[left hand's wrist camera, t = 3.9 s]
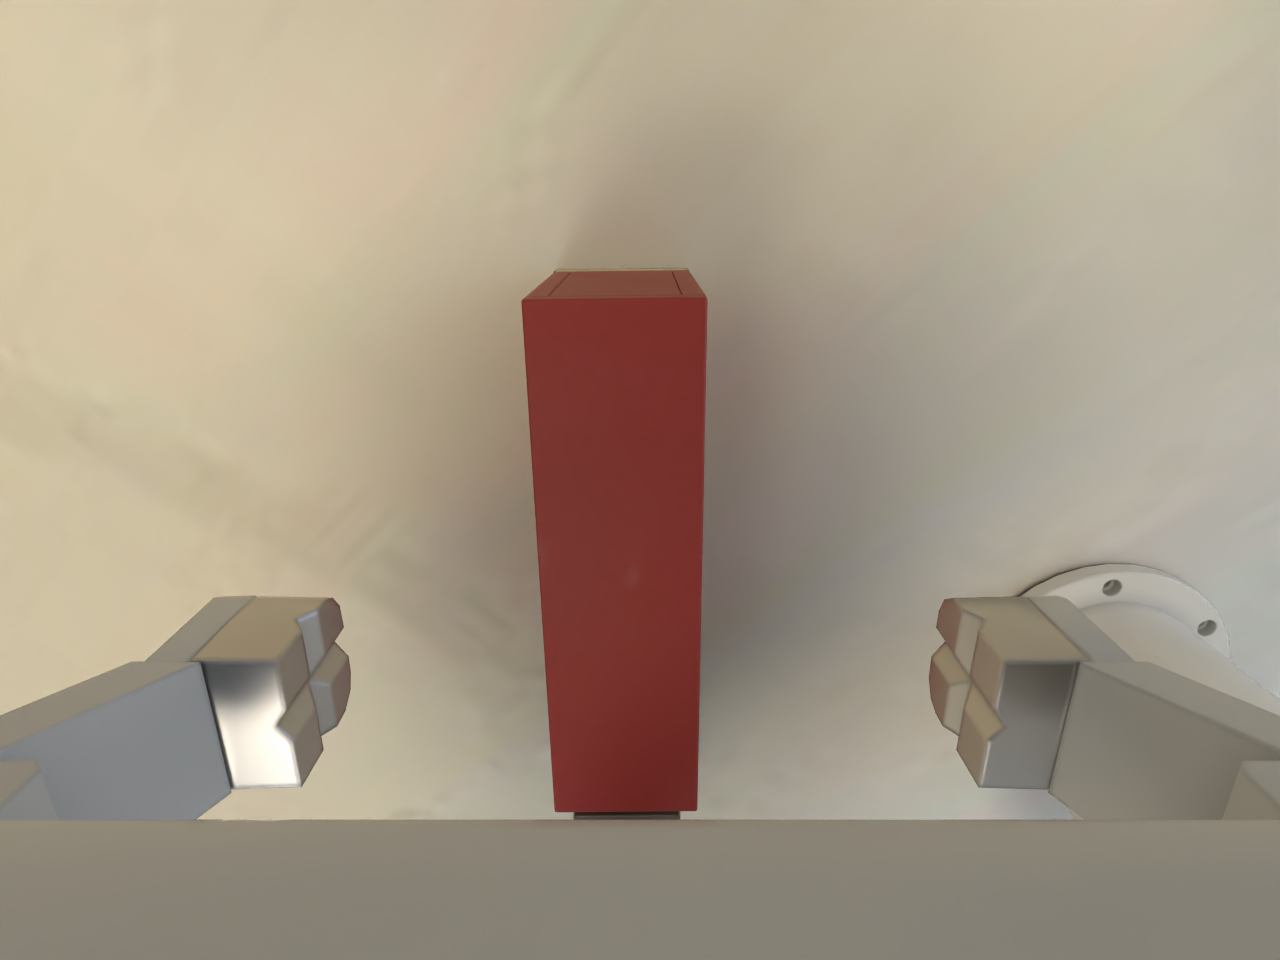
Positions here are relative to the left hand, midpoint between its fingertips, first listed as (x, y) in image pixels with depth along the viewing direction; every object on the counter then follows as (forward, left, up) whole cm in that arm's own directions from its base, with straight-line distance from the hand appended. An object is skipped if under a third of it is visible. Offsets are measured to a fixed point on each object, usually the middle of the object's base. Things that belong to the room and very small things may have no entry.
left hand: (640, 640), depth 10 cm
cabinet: (+6, -4, -24) cm, 25 cm away
